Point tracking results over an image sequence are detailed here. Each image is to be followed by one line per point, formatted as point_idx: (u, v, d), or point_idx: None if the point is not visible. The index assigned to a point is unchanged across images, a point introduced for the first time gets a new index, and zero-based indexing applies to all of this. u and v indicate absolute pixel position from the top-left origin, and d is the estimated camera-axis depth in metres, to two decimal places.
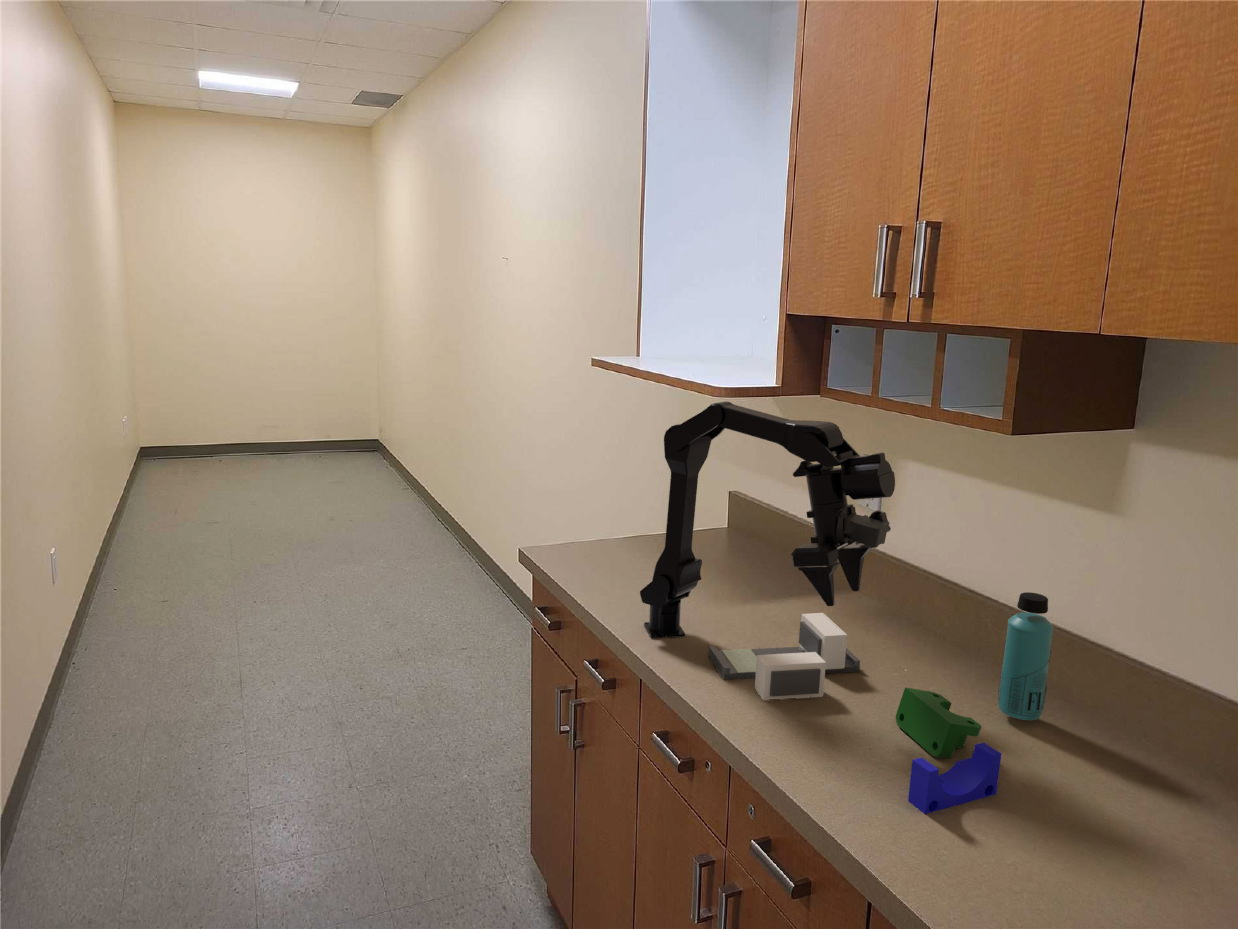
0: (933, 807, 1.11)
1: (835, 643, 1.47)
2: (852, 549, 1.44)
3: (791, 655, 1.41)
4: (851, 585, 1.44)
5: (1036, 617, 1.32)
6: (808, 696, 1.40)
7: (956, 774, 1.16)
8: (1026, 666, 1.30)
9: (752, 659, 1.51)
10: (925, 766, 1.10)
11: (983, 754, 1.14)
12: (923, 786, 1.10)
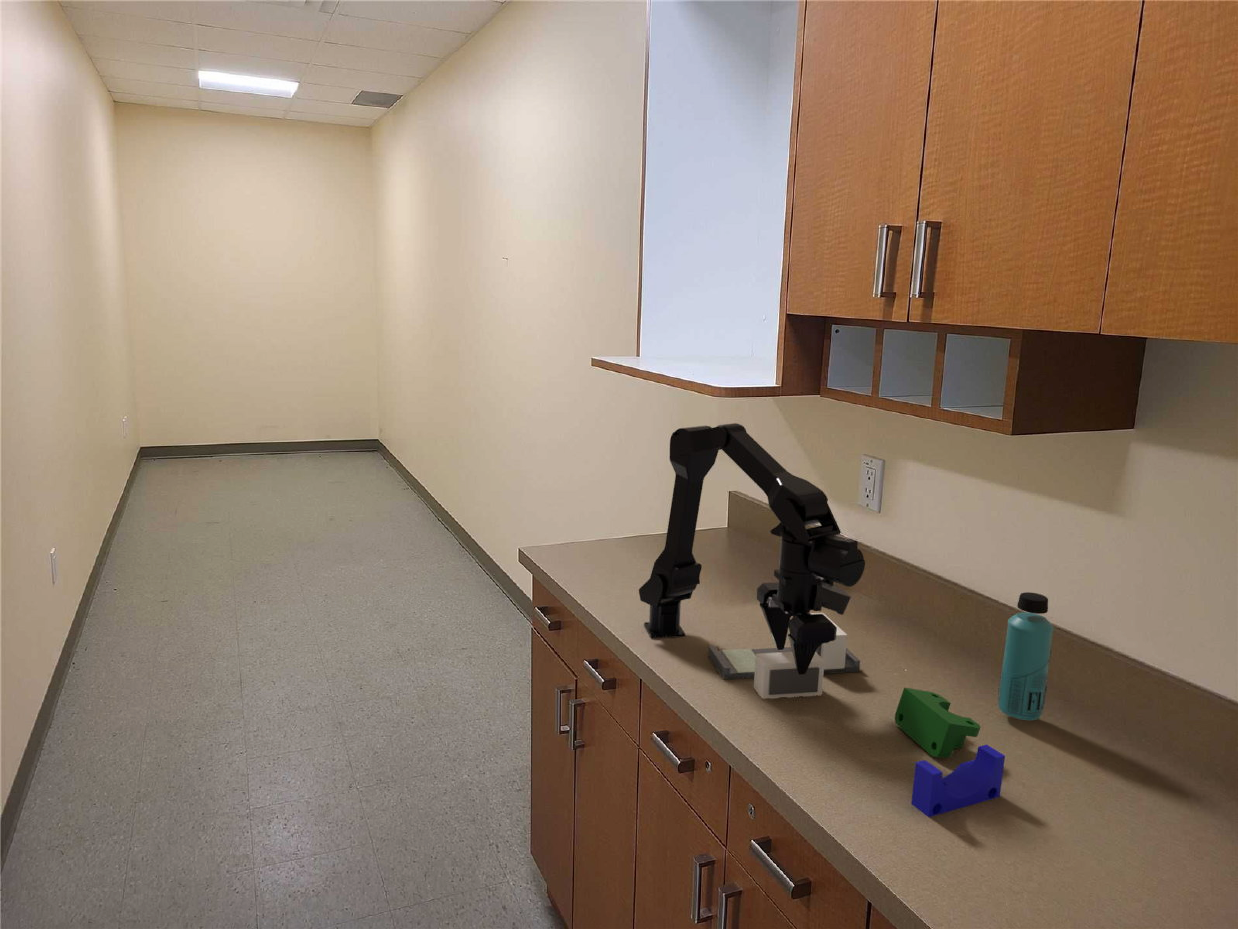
0: (936, 810, 1.10)
1: (835, 643, 1.47)
2: None
3: (790, 654, 1.42)
4: (777, 644, 1.44)
5: (1036, 617, 1.32)
6: (807, 694, 1.40)
7: (959, 776, 1.15)
8: (1026, 666, 1.30)
9: (752, 659, 1.51)
10: (929, 769, 1.09)
11: (986, 756, 1.14)
12: (926, 788, 1.09)
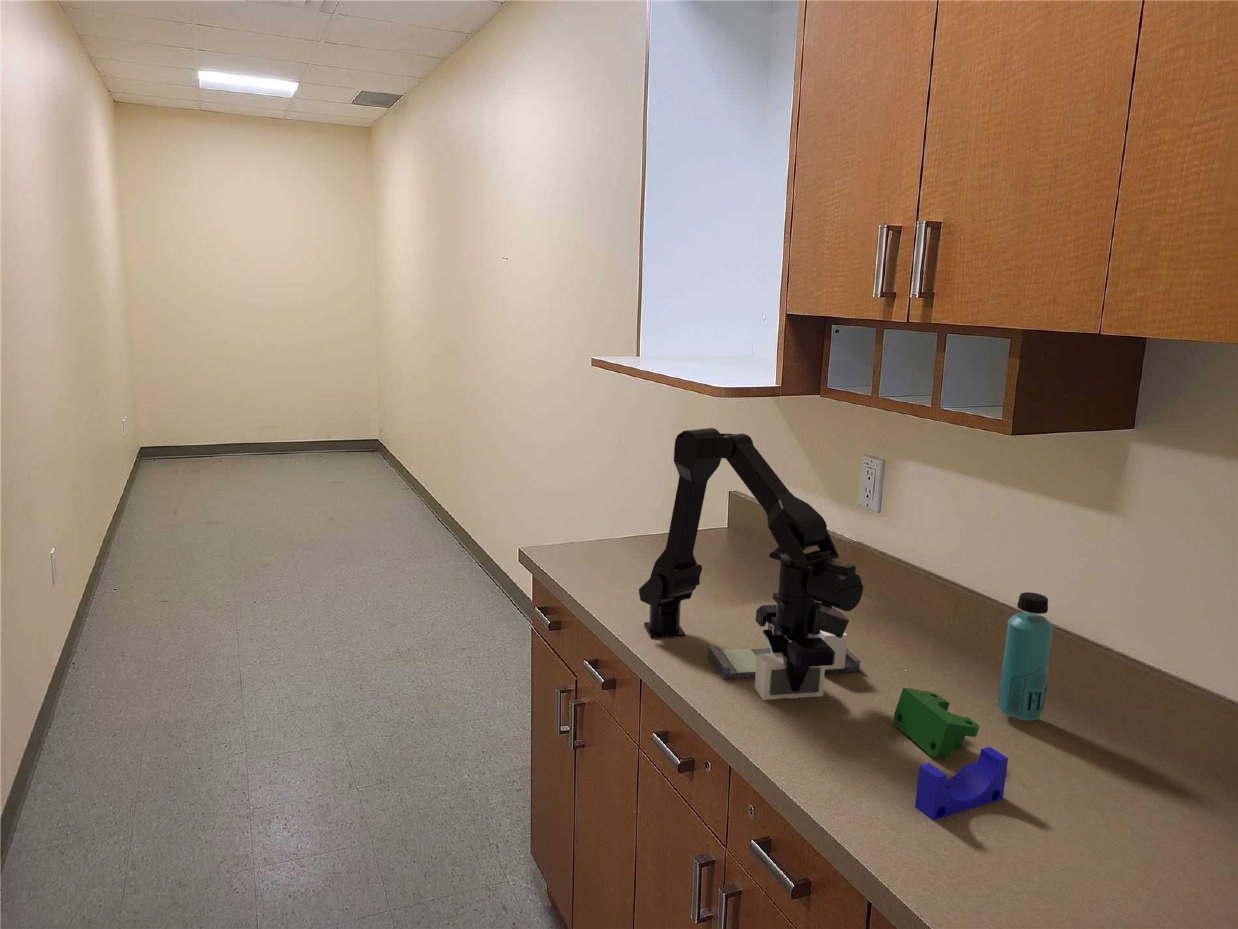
0: (940, 813, 1.10)
1: (835, 643, 1.47)
2: None
3: None
4: None
5: (1036, 616, 1.32)
6: (808, 695, 1.40)
7: (962, 779, 1.14)
8: (1026, 666, 1.30)
9: (752, 659, 1.51)
10: (933, 772, 1.09)
11: (989, 758, 1.13)
12: (930, 792, 1.09)
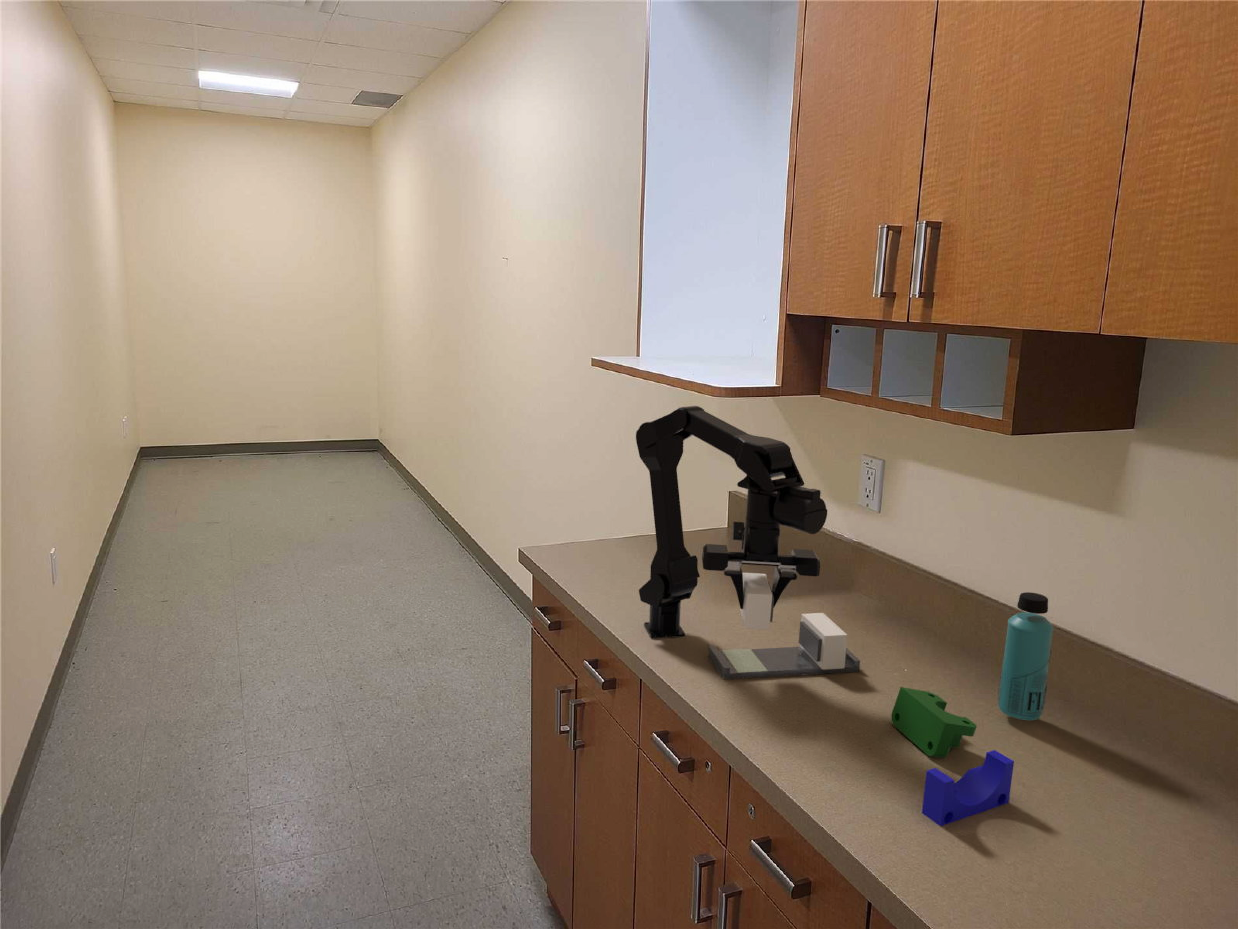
0: (947, 818, 1.09)
1: (835, 643, 1.47)
2: None
3: (749, 581, 1.46)
4: (742, 604, 1.46)
5: (1036, 617, 1.32)
6: None
7: (968, 783, 1.13)
8: (1026, 666, 1.30)
9: (752, 659, 1.51)
10: (940, 777, 1.07)
11: (995, 762, 1.12)
12: (938, 797, 1.07)
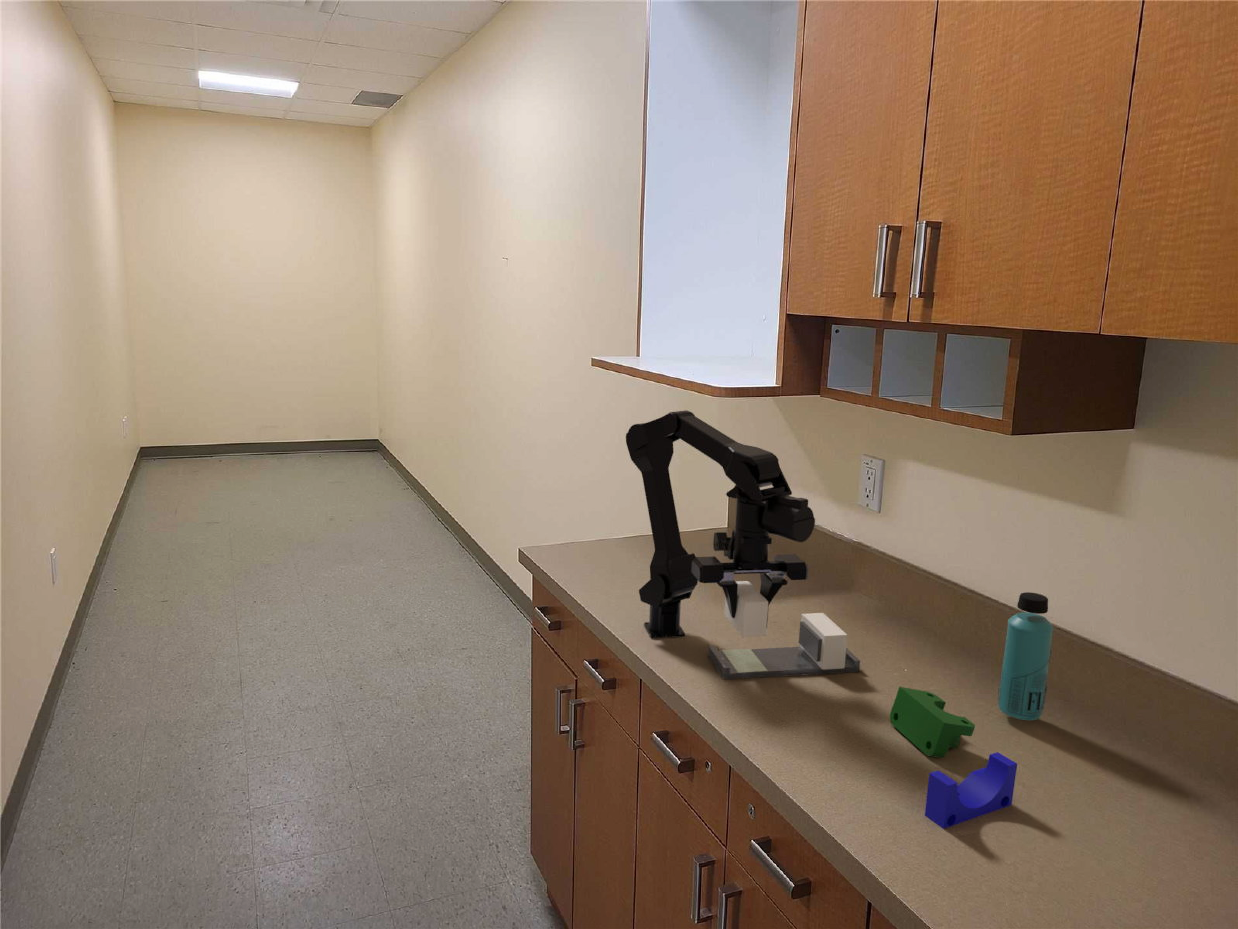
0: (950, 821, 1.08)
1: (835, 643, 1.47)
2: None
3: (739, 590, 1.48)
4: (734, 613, 1.48)
5: (1036, 617, 1.32)
6: None
7: (971, 785, 1.13)
8: (1026, 666, 1.30)
9: (752, 659, 1.51)
10: (943, 779, 1.07)
11: (998, 764, 1.12)
12: (941, 800, 1.07)
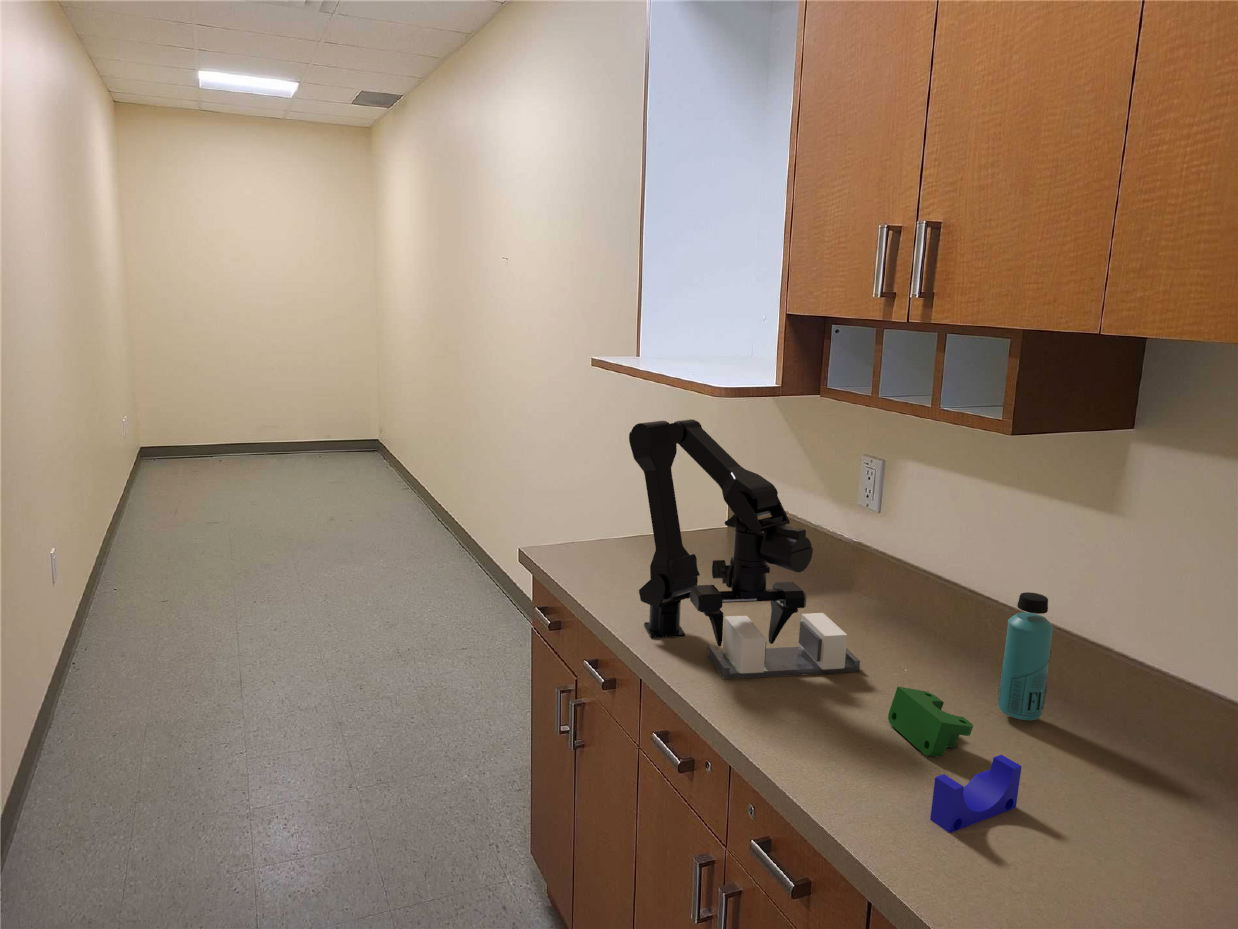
0: (956, 825, 1.07)
1: (835, 643, 1.47)
2: None
3: (737, 626, 1.49)
4: (720, 641, 1.48)
5: (1036, 617, 1.32)
6: None
7: (975, 788, 1.12)
8: (1026, 666, 1.30)
9: None
10: (949, 783, 1.06)
11: (1002, 767, 1.11)
12: (947, 804, 1.06)
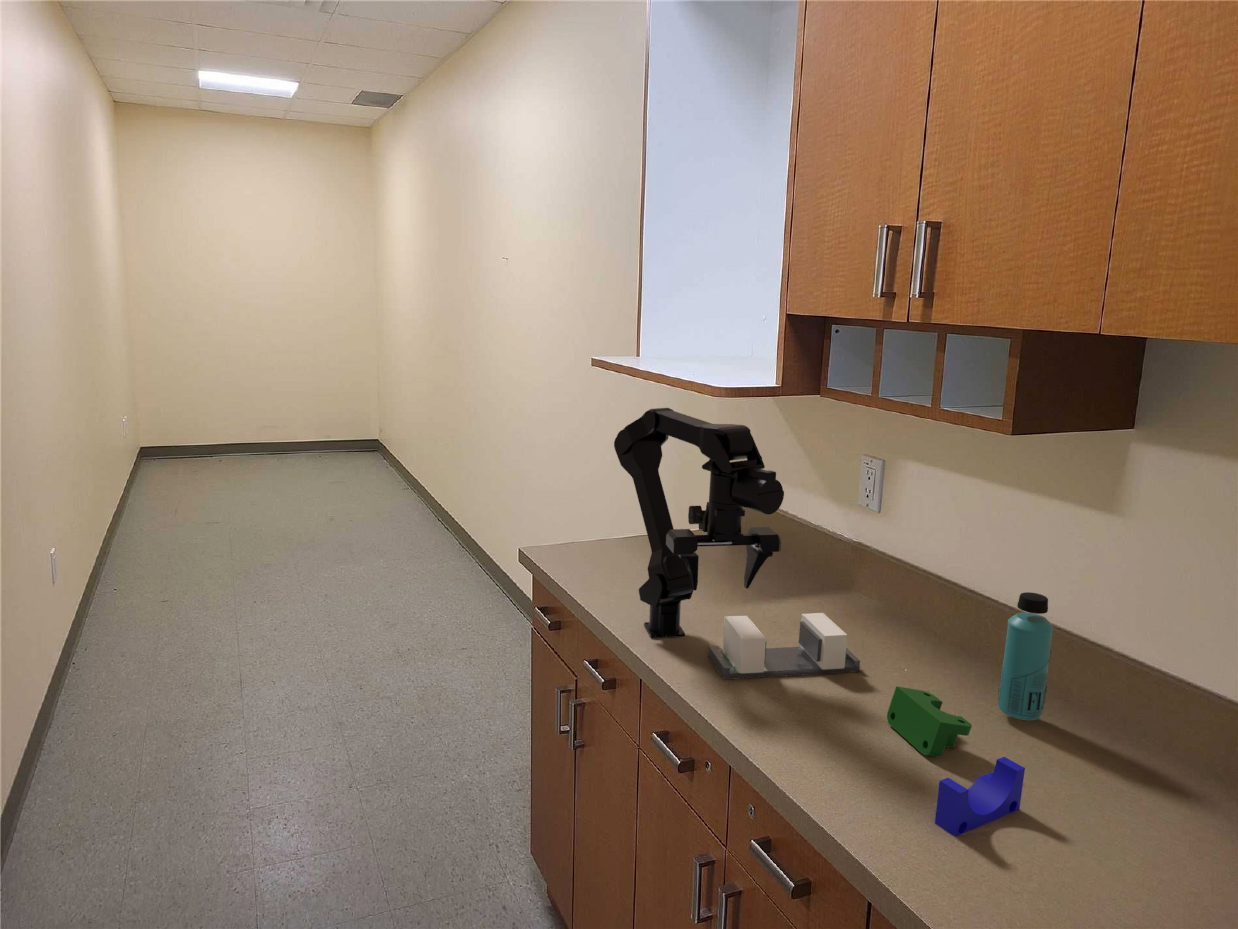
0: (961, 828, 1.07)
1: (835, 643, 1.47)
2: None
3: (737, 626, 1.49)
4: (696, 585, 1.49)
5: (1036, 617, 1.32)
6: None
7: (978, 791, 1.12)
8: (1026, 666, 1.30)
9: None
10: (954, 787, 1.05)
11: (1006, 769, 1.11)
12: (952, 807, 1.05)
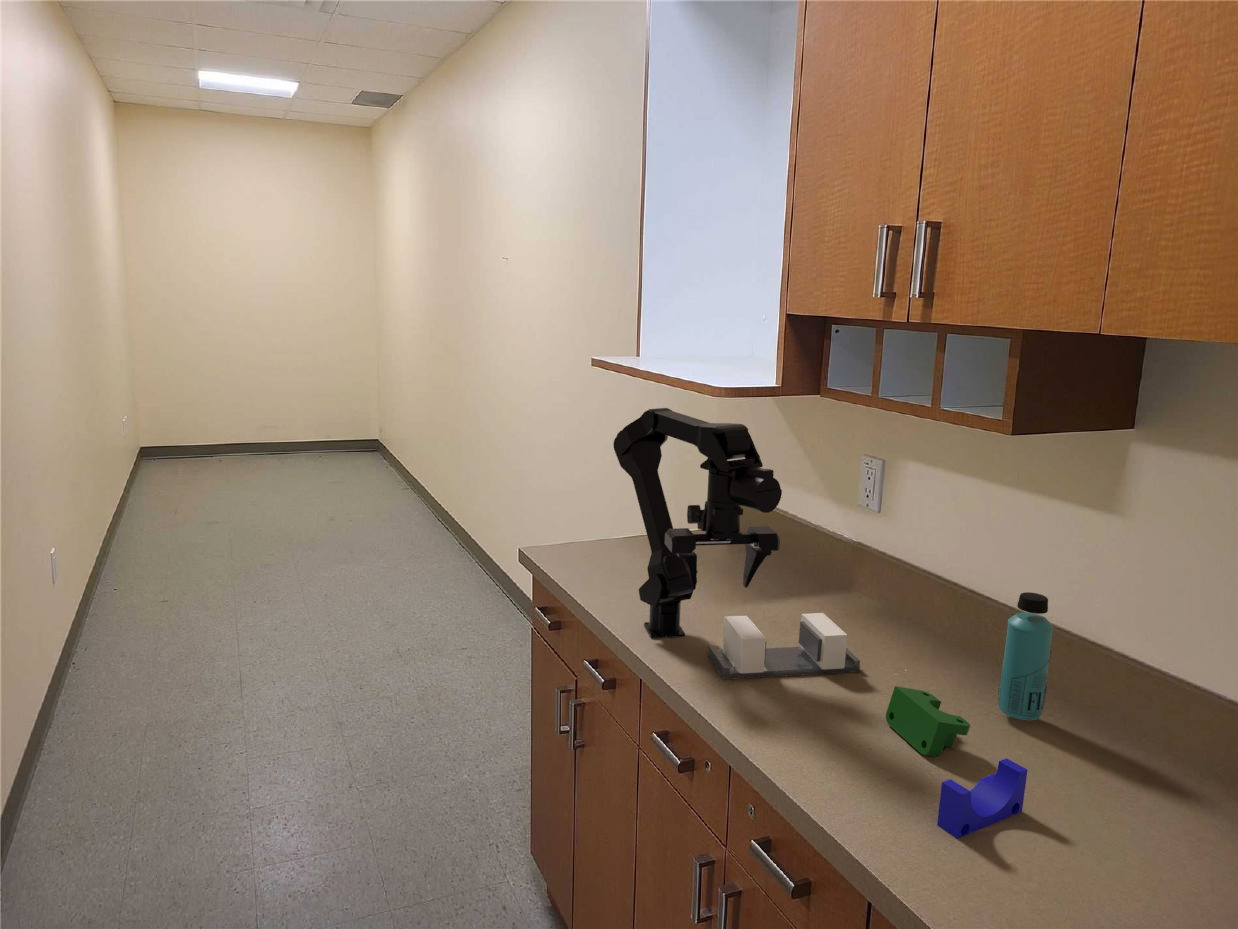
0: (964, 830, 1.06)
1: (835, 643, 1.47)
2: None
3: (737, 626, 1.49)
4: (694, 584, 1.49)
5: (1036, 617, 1.32)
6: None
7: (981, 793, 1.11)
8: (1026, 666, 1.30)
9: None
10: (956, 788, 1.05)
11: (1008, 771, 1.10)
12: (954, 809, 1.05)
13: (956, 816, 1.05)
